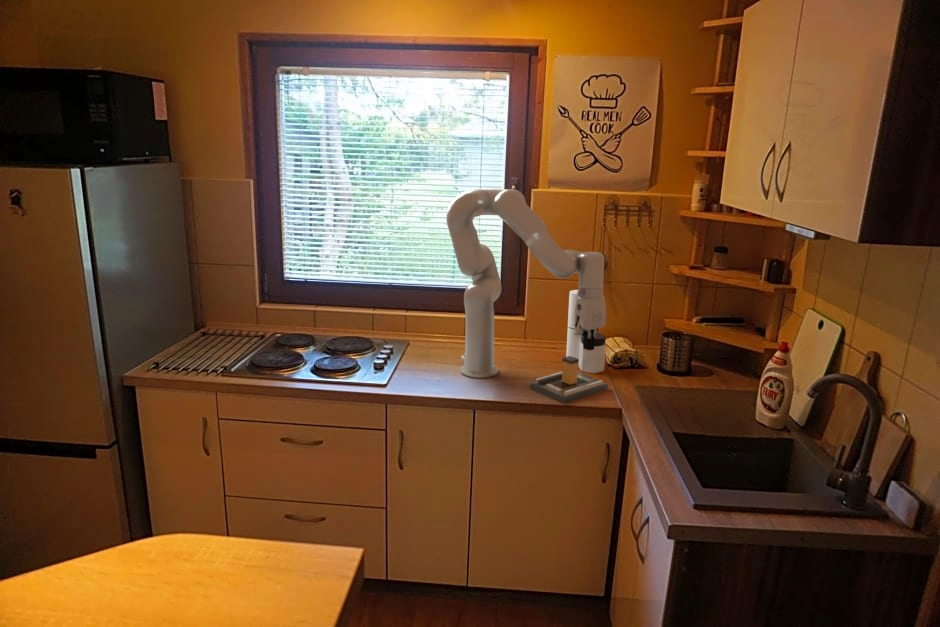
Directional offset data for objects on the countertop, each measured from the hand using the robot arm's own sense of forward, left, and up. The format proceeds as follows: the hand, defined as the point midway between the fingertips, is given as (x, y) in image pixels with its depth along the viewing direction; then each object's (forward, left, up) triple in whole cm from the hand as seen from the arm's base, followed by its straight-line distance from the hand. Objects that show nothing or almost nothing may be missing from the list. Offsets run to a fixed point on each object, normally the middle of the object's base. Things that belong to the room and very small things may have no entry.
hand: (588, 348), depth 199 cm
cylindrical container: (-18, +14, -12) cm, 26 cm away
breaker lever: (-1, -7, -10) cm, 12 cm away
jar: (-9, +12, -12) cm, 19 cm away
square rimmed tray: (-1, -7, -10) cm, 12 cm away
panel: (-1, -7, -12) cm, 14 cm away
